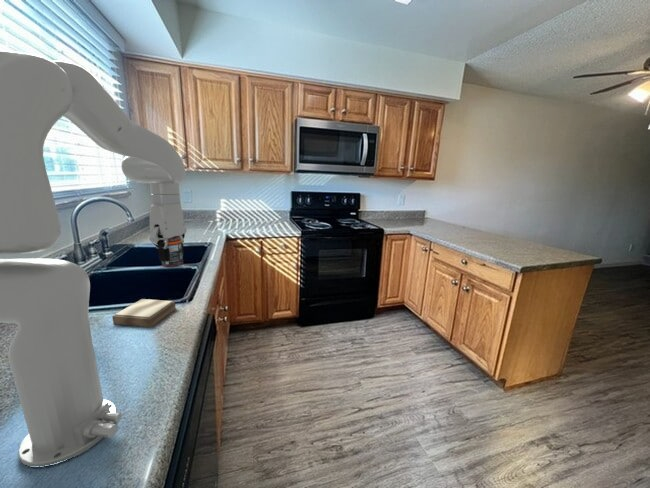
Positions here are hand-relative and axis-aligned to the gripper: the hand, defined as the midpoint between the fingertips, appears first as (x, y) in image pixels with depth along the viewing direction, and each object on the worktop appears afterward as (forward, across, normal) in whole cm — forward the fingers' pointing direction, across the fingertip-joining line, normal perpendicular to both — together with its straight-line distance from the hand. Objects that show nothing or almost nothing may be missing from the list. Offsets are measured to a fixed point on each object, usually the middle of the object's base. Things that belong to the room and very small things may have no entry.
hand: (171, 257), depth 86 cm
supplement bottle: (+3, 0, 0) cm, 3 cm away
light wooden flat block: (+19, +3, -9) cm, 21 cm away
